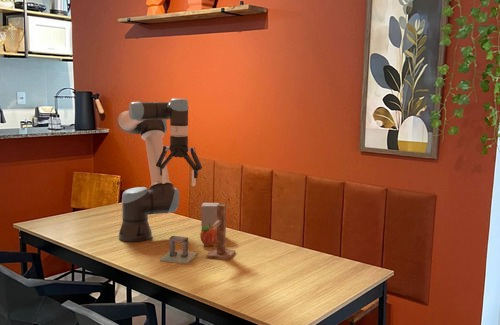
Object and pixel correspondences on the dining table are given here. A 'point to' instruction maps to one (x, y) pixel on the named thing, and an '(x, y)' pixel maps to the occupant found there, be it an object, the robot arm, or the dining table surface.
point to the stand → (220, 236)
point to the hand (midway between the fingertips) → (178, 184)
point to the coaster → (178, 257)
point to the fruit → (208, 236)
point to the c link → (172, 246)
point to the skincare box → (208, 214)
